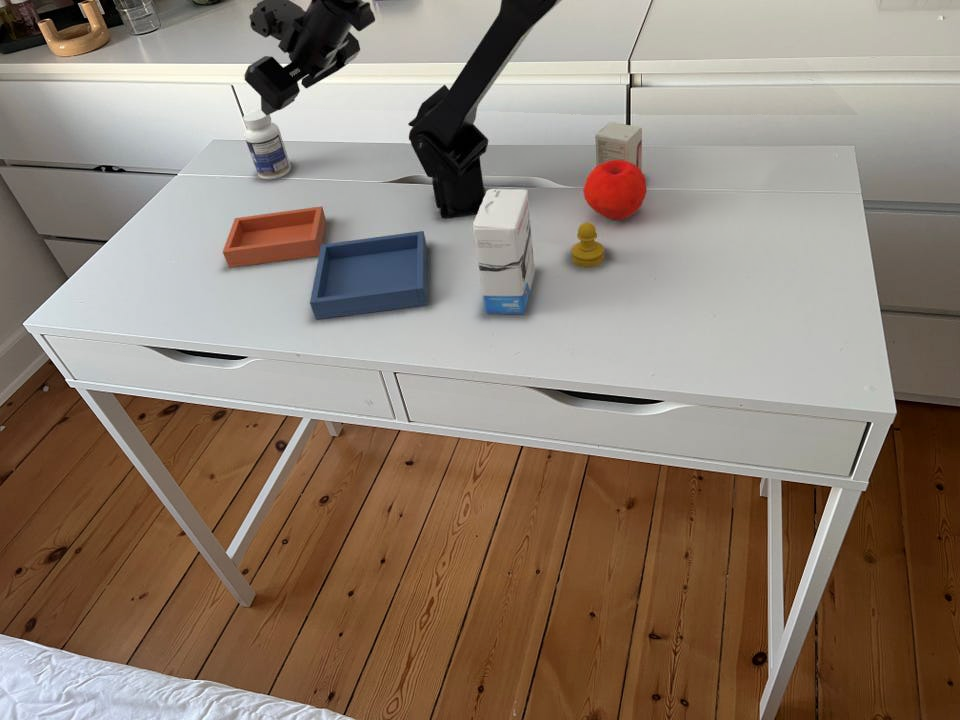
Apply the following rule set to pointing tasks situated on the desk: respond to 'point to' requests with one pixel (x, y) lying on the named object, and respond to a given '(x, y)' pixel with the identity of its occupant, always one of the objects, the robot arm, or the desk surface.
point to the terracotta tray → (275, 237)
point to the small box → (619, 144)
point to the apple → (615, 189)
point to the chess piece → (587, 247)
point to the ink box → (504, 250)
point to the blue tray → (370, 275)
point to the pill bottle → (265, 145)
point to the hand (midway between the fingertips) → (284, 98)
